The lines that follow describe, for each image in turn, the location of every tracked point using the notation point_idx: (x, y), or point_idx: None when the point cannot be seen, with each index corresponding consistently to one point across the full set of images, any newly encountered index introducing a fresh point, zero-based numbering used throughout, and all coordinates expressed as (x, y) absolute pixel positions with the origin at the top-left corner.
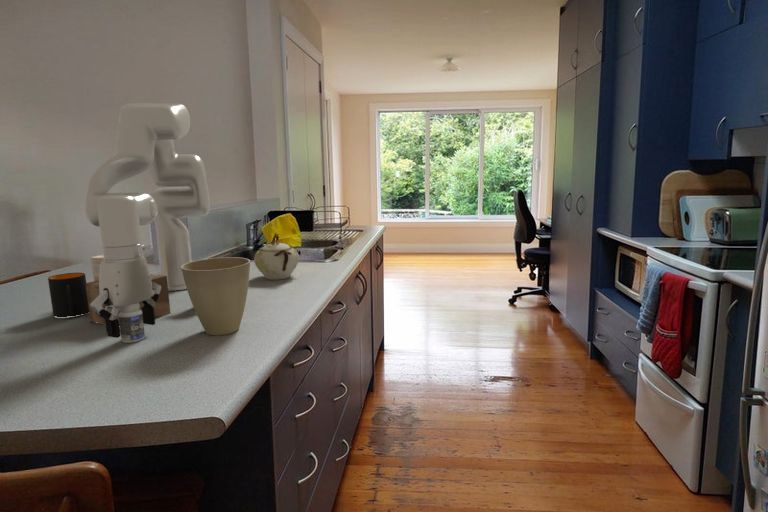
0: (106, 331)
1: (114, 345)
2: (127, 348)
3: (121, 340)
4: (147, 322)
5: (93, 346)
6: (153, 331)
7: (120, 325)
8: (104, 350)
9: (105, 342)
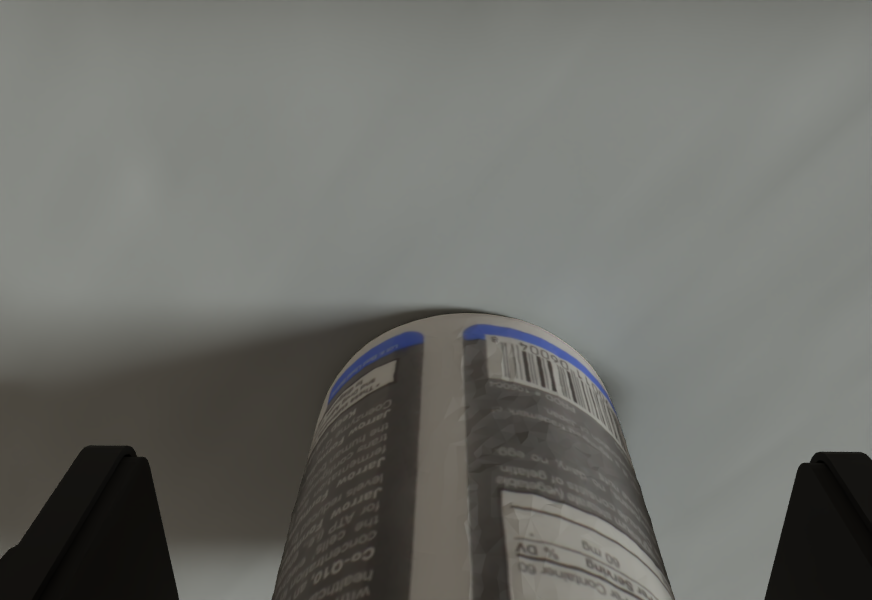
0: (2, 557)
1: (205, 390)
2: (221, 588)
3: (335, 379)
4: (789, 564)
5: (16, 153)
6: (837, 415)
7: (273, 595)
8: (35, 424)
9: (214, 167)
